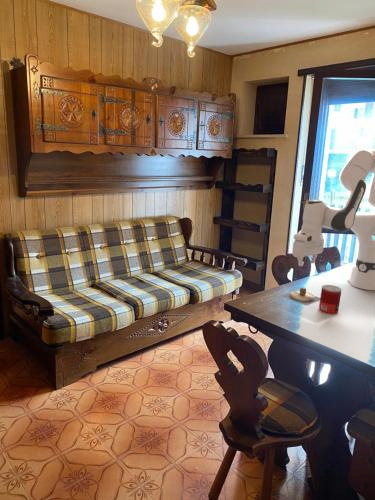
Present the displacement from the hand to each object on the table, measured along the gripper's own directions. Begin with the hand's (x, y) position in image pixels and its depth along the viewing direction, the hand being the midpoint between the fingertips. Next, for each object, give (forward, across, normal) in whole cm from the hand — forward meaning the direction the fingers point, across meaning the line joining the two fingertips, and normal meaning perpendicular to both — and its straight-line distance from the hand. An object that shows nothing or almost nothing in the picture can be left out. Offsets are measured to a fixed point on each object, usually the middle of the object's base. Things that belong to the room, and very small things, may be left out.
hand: (306, 264), depth 179 cm
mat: (+17, 0, 0) cm, 17 cm away
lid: (+16, 0, 0) cm, 16 cm away
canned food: (+17, +4, +16) cm, 24 cm away
